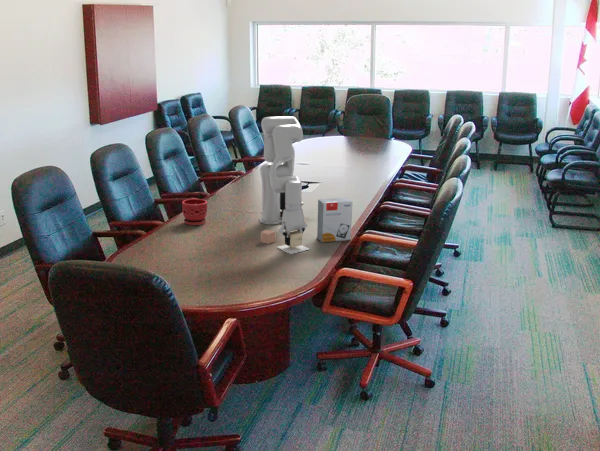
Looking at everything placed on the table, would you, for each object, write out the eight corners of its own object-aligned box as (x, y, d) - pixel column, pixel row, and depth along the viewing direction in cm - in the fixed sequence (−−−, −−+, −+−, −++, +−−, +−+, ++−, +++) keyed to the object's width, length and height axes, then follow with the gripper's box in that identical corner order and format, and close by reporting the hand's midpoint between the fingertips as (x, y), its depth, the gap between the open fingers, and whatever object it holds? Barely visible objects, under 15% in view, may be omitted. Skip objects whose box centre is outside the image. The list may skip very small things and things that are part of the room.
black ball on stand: (273, 213, 365) (273, 187, 361) (294, 210, 370) (295, 185, 366) (282, 220, 354) (282, 193, 349) (304, 217, 359) (305, 190, 354)
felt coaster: (277, 247, 311) (277, 246, 311) (296, 243, 317) (296, 242, 317) (290, 254, 302) (290, 253, 302) (309, 250, 308) (309, 248, 308)
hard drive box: (321, 242, 318) (321, 203, 312) (316, 237, 325) (317, 199, 319) (351, 240, 322) (352, 201, 316) (346, 235, 329) (347, 197, 323)
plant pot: (205, 226, 342) (205, 204, 338) (180, 226, 342) (179, 204, 338) (209, 219, 354) (208, 198, 350) (185, 219, 354) (184, 197, 351)
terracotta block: (260, 241, 320) (260, 232, 318) (267, 239, 323) (267, 229, 322) (268, 244, 317) (268, 234, 315) (275, 241, 320) (275, 231, 319)
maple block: (284, 244, 310) (284, 232, 308) (295, 241, 313) (295, 229, 311) (291, 247, 305) (291, 235, 303) (302, 245, 308) (302, 233, 306)
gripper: (304, 201, 311) (303, 237, 316) (273, 207, 302) (273, 244, 307) (313, 205, 305) (312, 242, 311) (282, 211, 296) (282, 249, 301)
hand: (293, 242), depth 309 cm, fingers closed on maple block, 6 cm apart
